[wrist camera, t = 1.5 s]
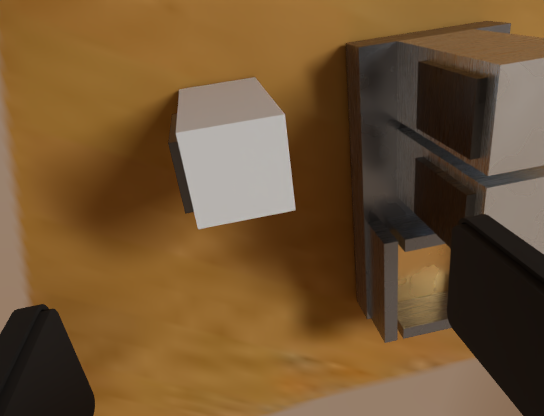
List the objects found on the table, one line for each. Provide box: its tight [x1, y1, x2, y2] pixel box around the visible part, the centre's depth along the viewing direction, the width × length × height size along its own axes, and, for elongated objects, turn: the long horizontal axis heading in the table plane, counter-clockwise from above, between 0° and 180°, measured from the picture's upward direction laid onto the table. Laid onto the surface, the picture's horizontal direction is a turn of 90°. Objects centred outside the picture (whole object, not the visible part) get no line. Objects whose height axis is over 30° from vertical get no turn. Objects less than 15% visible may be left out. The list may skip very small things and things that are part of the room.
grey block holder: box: [346, 21, 544, 343], centre depth 23 cm, size 17×8×10 cm, turn 7°
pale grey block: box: [168, 77, 296, 229], centre depth 20 cm, size 4×4×8 cm
